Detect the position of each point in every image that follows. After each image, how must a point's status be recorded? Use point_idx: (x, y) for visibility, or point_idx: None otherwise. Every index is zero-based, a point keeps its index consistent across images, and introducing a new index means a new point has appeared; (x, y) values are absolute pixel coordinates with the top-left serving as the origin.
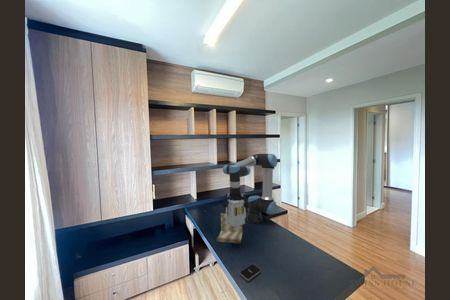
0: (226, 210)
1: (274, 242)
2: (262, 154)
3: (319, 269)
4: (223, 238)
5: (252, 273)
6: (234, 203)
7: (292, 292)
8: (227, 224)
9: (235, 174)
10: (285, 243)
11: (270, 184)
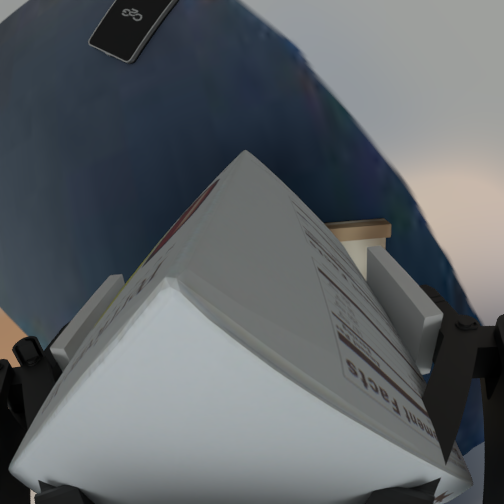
0: (408, 288)
1: (74, 286)
2: None
3: None
4: (350, 231)
5: (121, 6)
6: (139, 297)
7: (10, 23)
8: None
9: None
10: (38, 288)
11: None
